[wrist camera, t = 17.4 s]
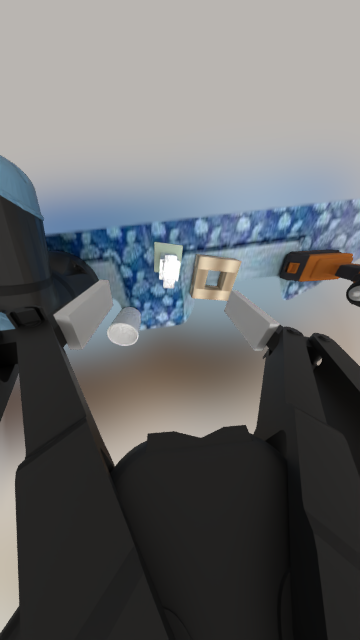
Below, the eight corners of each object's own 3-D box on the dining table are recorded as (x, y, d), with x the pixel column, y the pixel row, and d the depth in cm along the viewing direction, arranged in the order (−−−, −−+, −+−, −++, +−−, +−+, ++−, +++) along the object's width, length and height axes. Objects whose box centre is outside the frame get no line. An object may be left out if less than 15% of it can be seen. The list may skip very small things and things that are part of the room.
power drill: (257, 279, 41) (353, 327, 20) (264, 252, 36) (396, 279, 16) (321, 274, 42) (473, 315, 21) (335, 248, 38) (542, 267, 17)
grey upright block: (160, 269, 36) (158, 287, 24) (161, 246, 32) (160, 254, 21) (173, 271, 36) (177, 288, 25) (175, 248, 33) (181, 256, 22)
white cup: (138, 328, 46) (132, 349, 38) (115, 320, 43) (103, 340, 35) (146, 311, 43) (142, 329, 35) (122, 300, 40) (111, 318, 32)
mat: (154, 271, 36) (154, 271, 36) (154, 242, 32) (154, 242, 32) (179, 273, 37) (179, 274, 37) (182, 245, 33) (182, 245, 33)
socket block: (189, 292, 41) (192, 298, 37) (196, 254, 35) (199, 256, 31) (222, 295, 42) (227, 300, 39) (234, 258, 36) (241, 261, 33)
